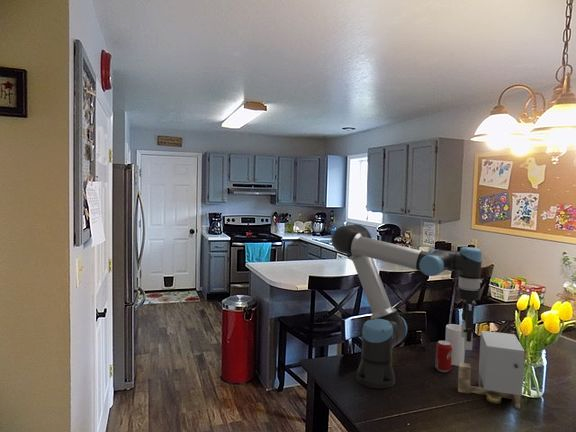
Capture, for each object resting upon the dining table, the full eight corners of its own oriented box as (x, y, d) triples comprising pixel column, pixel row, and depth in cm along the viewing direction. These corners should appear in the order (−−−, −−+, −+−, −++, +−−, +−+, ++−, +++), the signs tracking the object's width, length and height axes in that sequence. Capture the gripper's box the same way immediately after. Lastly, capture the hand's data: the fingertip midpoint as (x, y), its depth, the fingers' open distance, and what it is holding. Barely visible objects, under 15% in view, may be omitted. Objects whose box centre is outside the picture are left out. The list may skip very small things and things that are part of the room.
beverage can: (452, 373, 176) (453, 345, 175) (436, 372, 177) (437, 344, 177) (449, 367, 182) (450, 340, 182) (434, 366, 184) (435, 339, 183)
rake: (459, 398, 155) (460, 372, 154) (457, 387, 164) (458, 362, 163) (520, 408, 149) (521, 381, 148) (514, 396, 158) (516, 370, 157)
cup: (467, 363, 188) (469, 328, 187) (456, 367, 183) (458, 331, 182) (451, 357, 194) (453, 323, 193) (440, 360, 190) (442, 325, 189)
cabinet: (483, 405, 150) (487, 347, 149) (478, 383, 168) (480, 330, 167) (521, 412, 146) (525, 352, 145) (511, 388, 164) (514, 334, 163)
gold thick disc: (487, 402, 153) (487, 397, 153) (485, 396, 158) (485, 391, 158) (502, 405, 151) (502, 399, 151) (500, 398, 156) (500, 393, 156)
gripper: (484, 297, 146) (481, 356, 147) (476, 282, 170) (473, 334, 171) (461, 294, 149) (458, 353, 150) (456, 280, 172) (453, 331, 173)
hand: (466, 343), depth 160 cm, fingers open, 13 cm apart
